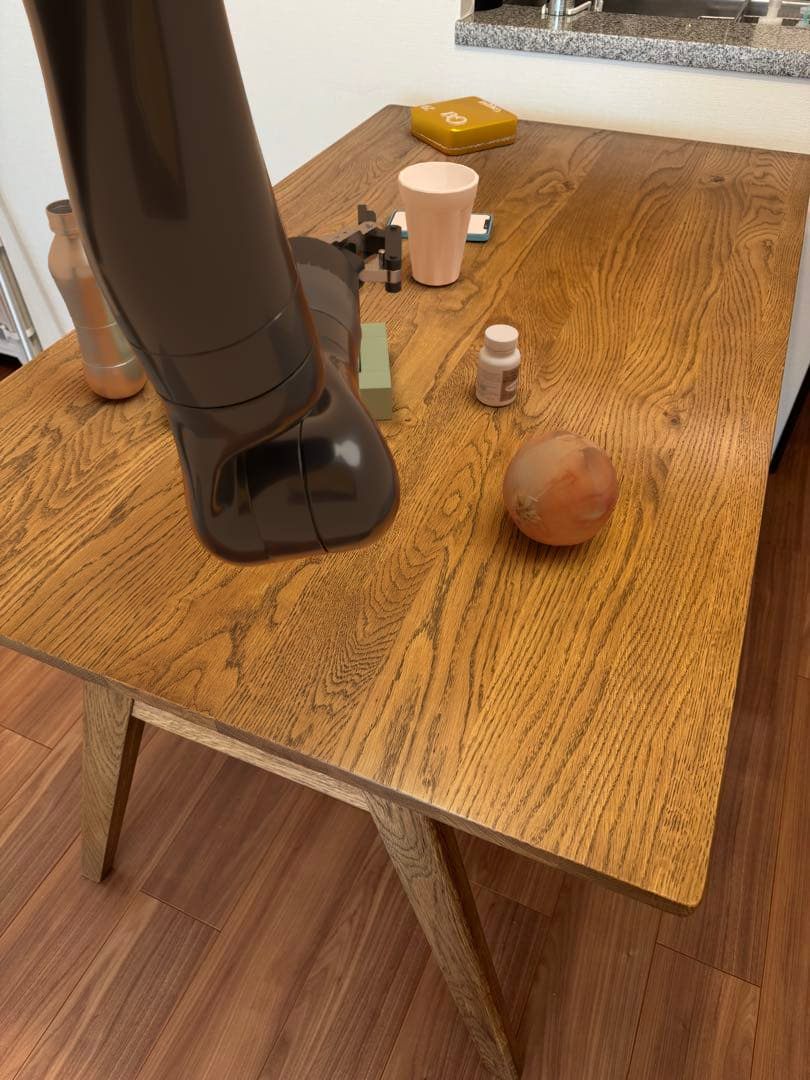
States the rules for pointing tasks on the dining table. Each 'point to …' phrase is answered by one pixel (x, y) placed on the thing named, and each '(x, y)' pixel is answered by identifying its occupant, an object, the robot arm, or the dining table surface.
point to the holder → (375, 371)
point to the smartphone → (476, 230)
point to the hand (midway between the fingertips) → (308, 217)
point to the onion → (560, 488)
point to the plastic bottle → (90, 312)
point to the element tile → (463, 124)
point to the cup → (437, 217)
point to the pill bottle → (498, 366)
